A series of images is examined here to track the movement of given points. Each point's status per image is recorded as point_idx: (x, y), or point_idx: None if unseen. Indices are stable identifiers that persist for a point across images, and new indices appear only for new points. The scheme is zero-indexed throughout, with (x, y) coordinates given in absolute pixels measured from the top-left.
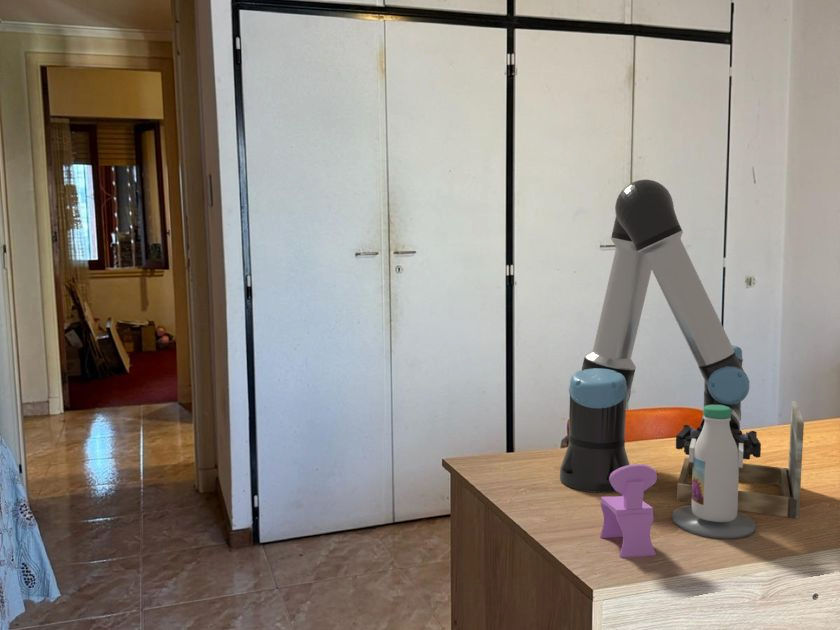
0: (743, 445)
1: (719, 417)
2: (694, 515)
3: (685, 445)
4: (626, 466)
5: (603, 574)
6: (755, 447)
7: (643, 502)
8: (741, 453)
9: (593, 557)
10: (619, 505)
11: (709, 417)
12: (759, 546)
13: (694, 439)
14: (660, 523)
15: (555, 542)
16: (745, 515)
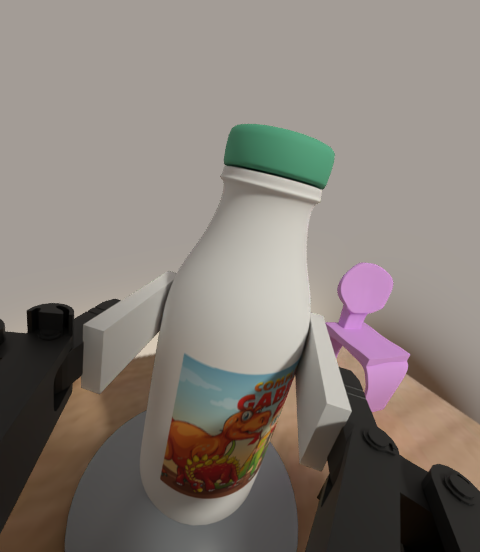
0: (72, 343)
1: (267, 173)
2: (238, 514)
3: (349, 370)
4: (378, 266)
5: None
6: (11, 334)
7: (344, 337)
8: (173, 274)
9: (358, 361)
10: (368, 332)
11: (297, 203)
12: (144, 382)
13: (332, 392)
14: (315, 481)
15: (420, 393)
16: (66, 540)
